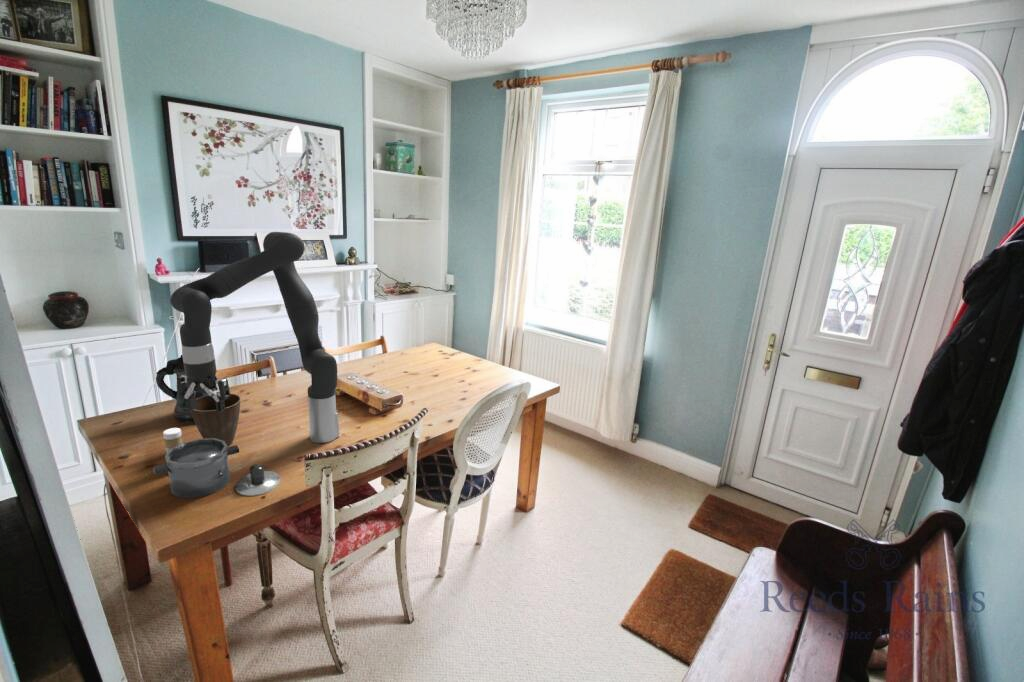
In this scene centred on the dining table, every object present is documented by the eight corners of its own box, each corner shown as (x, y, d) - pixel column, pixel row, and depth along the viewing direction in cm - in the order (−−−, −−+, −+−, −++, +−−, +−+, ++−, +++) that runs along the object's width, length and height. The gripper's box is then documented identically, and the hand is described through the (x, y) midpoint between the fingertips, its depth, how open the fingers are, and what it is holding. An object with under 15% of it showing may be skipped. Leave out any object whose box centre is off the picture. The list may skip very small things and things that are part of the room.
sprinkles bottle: (184, 463, 152) (178, 425, 148) (188, 469, 149) (182, 431, 145) (167, 468, 148) (160, 430, 145) (170, 474, 145) (164, 435, 142)
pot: (234, 461, 155) (230, 431, 151) (247, 482, 144) (243, 450, 141) (154, 484, 140) (148, 450, 137) (162, 509, 130) (156, 473, 127)
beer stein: (233, 414, 186) (226, 354, 179) (178, 431, 171) (168, 366, 164) (212, 402, 195) (205, 344, 188) (158, 417, 179) (148, 355, 172)
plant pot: (183, 451, 159) (177, 407, 154) (216, 431, 173) (211, 390, 168) (224, 456, 157) (219, 413, 152) (254, 436, 171) (250, 395, 167)
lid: (273, 469, 152) (271, 453, 151) (285, 487, 144) (284, 469, 142) (231, 482, 144) (229, 465, 143) (242, 501, 136) (240, 483, 134)
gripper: (231, 356, 136) (238, 407, 140) (185, 352, 137) (193, 403, 142) (213, 365, 128) (220, 418, 133) (164, 360, 130) (174, 413, 134)
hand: (206, 410), depth 137 cm, fingers open, 8 cm apart
